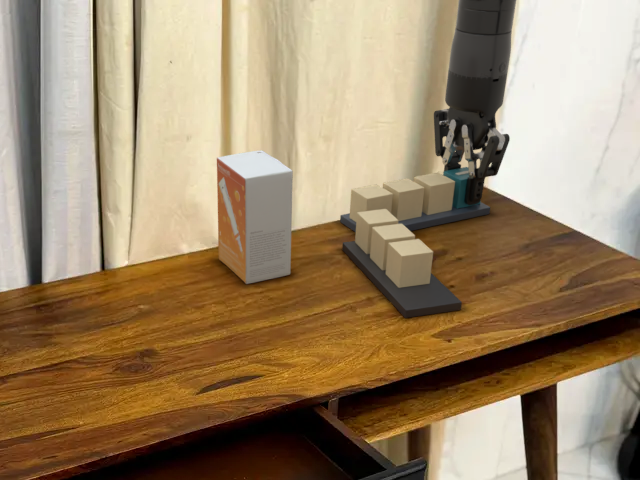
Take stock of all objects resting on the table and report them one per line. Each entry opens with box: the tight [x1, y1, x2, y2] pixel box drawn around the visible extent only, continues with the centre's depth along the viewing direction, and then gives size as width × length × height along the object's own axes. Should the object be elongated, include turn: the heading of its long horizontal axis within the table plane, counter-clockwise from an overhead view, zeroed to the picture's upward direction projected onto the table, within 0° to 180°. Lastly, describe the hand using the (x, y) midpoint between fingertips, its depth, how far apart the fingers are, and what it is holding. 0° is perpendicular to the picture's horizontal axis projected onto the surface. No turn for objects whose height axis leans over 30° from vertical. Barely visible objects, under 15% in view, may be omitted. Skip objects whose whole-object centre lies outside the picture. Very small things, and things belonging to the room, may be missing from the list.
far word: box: [339, 172, 491, 233], centre depth 134 cm, size 20×7×5 cm, turn 117°
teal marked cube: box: [442, 166, 482, 209], centre depth 136 cm, size 4×4×4 cm
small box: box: [216, 149, 294, 285], centre depth 119 cm, size 8×6×13 cm
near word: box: [341, 209, 463, 319], centre depth 119 cm, size 20×7×5 cm, turn 17°
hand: (461, 196), depth 137 cm, fingers open, 4 cm apart
